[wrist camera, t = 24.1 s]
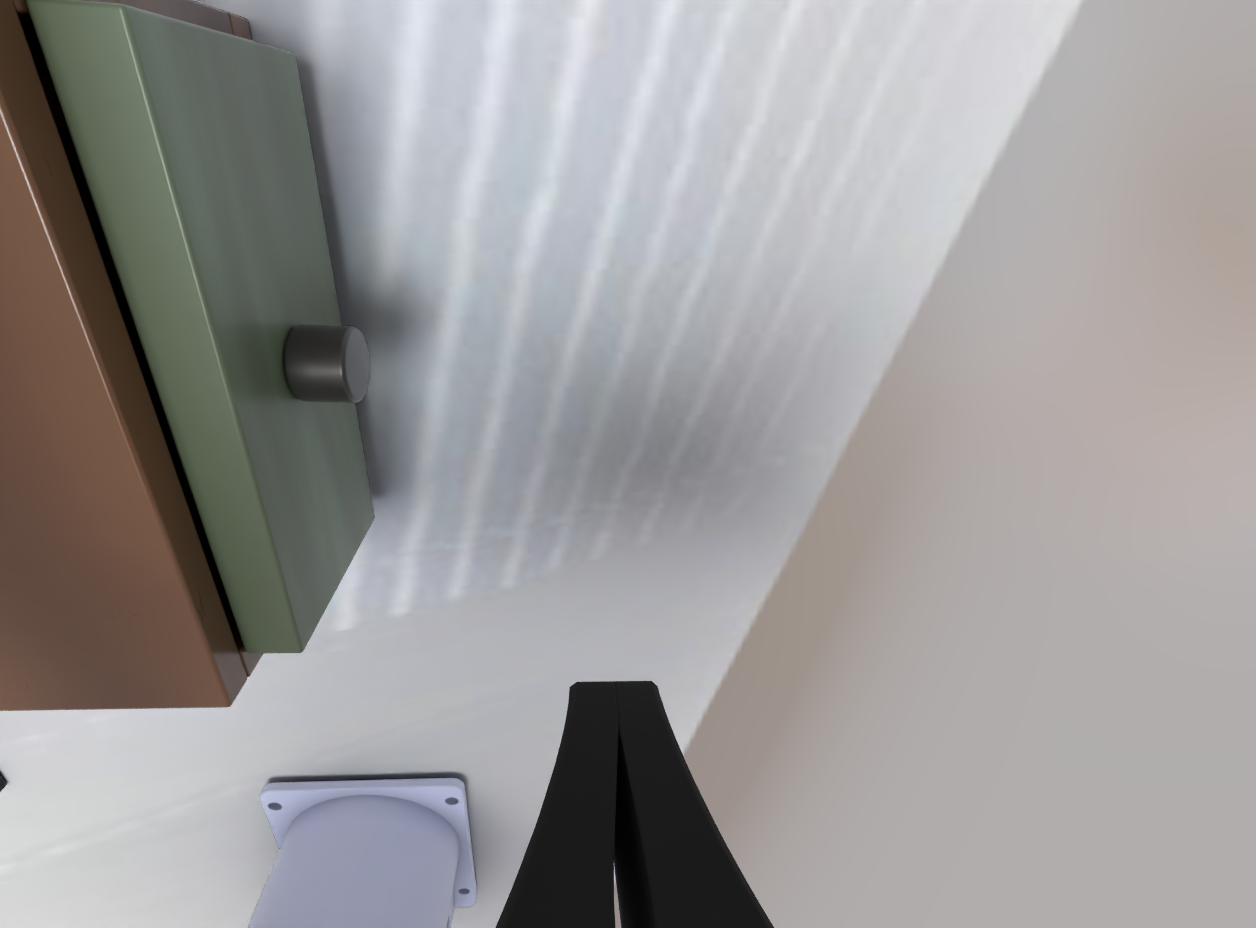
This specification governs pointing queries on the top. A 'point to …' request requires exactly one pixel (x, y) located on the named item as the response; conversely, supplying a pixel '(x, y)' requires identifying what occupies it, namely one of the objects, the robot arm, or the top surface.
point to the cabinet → (88, 448)
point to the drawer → (222, 293)
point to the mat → (2, 783)
